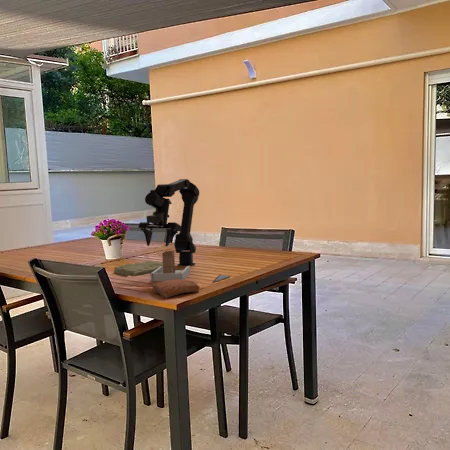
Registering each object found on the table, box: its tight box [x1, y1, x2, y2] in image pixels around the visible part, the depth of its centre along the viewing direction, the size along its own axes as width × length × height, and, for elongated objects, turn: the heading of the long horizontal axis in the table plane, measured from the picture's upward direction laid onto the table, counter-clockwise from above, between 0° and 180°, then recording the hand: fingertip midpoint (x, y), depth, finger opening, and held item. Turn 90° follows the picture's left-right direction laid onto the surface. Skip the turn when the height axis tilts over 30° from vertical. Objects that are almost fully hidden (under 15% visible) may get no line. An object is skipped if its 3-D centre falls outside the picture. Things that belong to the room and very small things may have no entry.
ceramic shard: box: [151, 279, 200, 300], centre depth 166 cm, size 15×6×15 cm
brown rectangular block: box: [162, 250, 176, 273], centre depth 184 cm, size 6×4×12 cm, turn 173°
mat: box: [211, 274, 231, 284], centre depth 186 cm, size 12×12×1 cm
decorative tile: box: [113, 260, 163, 277], centre depth 206 cm, size 19×20×4 cm
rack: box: [149, 265, 191, 282], centre depth 187 cm, size 15×13×4 cm
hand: (157, 246), depth 192 cm, fingers open, 9 cm apart
